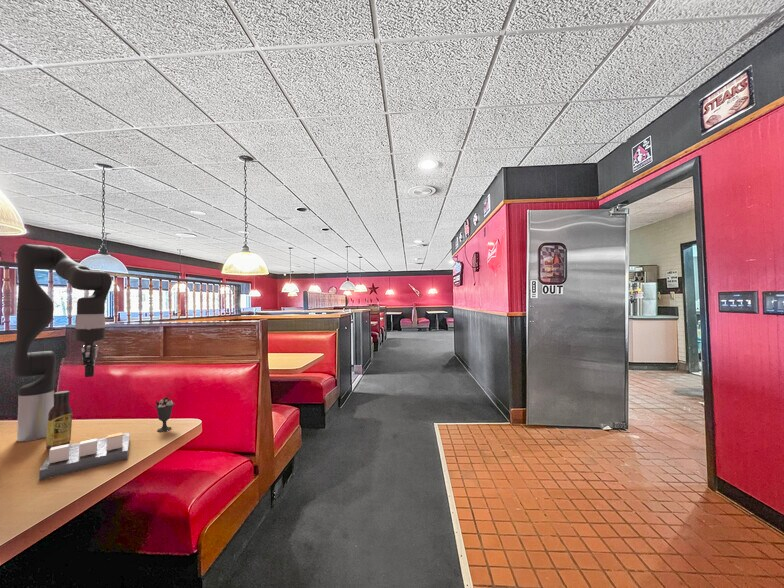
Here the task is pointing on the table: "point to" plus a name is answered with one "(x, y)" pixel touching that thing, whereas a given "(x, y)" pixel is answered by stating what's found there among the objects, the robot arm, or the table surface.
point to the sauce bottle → (59, 421)
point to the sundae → (164, 412)
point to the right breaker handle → (59, 453)
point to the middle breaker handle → (87, 447)
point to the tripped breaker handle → (114, 441)
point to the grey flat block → (85, 459)
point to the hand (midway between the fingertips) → (89, 376)
